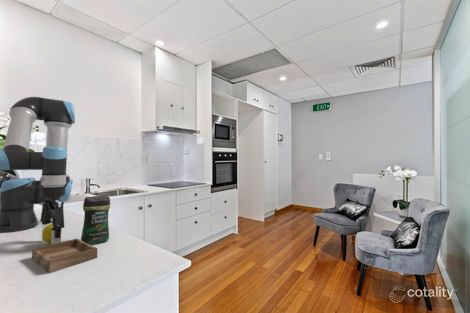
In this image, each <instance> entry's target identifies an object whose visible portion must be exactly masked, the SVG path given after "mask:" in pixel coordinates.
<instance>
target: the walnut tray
mask: <svg viewBox="0 0 470 313" xmlns="http://www.w3.org/2000/svg"><path fill="white" fill-rule="evenodd" d="M96 259H98V247H95V246H94V245H93V244H92V245H89V244H87V243H85V242H83V241H81V239H79V238H73V239H68V240H65V241H64V240H63V241H61V242H60V243H56V244H52V245H51V244H49V245H44V246H40V247H35V248H32V250H31V260H33V261H34V262H35V263H37V265H38V266H41V268H42V269H44V270H45V271H46V272H48V273H49V274H51V273H54V272H57V271H62V270H63V269H66V268H69V267H73V266H76V265H79V264H81V263H82V264H83V263H85V262H88V261H91V260H96Z"/></svg>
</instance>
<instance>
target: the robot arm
mask: <svg viewBox="0 0 470 313" xmlns="http://www.w3.org/2000/svg"><path fill="white" fill-rule="evenodd" d="M8 113H9V114H8V115H9V117H10V120H9V124H8V129H7V131H6V132H7V133H6V135H5V139H4V143H3V147H2V149H0V171H21V170H22V171H23V170H24V171H28V170H29V171H41V177H40V178H39V180H36V177H25V178H16V179H9V180H5V181H3V182H2V183H1V186H0V233H11V232H19V231H24V230H29V229H32V228H35V227H37V226H38V223H39V222H40V223H41V224H42V228H41V229H42V230H41V234H42V233H43V230H44V228H45V227H46V226H48V225H50V224H51V223H53V228H52V229H51V231H52V240H51V244H50V245H52V244H56V243H60V242H62V229H63V228H65V218H64V217H65V213H64V204H65V202H68V201H70V197H71V194H72V189H73V183H74V180H73V179H71V177H70V175H69V174H67V164H68V163H67V160H68V137H69V129H71V128H72V127H73V126H72V125H75V123H76V117H75V116H76V115H75V107H74V105H73V103H72V102H71V101H65V100H59V99H55V98H54V99H53V98H46V97H40V96H29V97H25V98H22V99H20V100H18V101H17V102H15V103H13V105H12V106H11V107H10V110H9V112H8ZM36 120H37V121H43V125H44V126H45V127H46V129H47V130H46V146H44V147H43V148H42V151H29V148H30V145H31V144H30V143H31V136H32V132H33V124H34V123H35V122H36ZM35 205H42V206H41V213H40V214H41V216H40V221H39V220H38V217H37V215H36V213H35V210H34V208H35ZM38 221H39V222H38ZM41 242H42V243H43V242H45V241H44V240H43V238H42V237H41Z"/></svg>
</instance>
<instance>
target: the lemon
mask: <svg viewBox="0 0 470 313" xmlns="http://www.w3.org/2000/svg"><path fill="white" fill-rule="evenodd" d="M49 224H50V225H48V226H46V227H45V228H44V230H43V233H42V232H41V239H42V238H43V240H44V242H45V243H47V244H49V245H51V240H52V231H51V229H52V228H53V223H49Z"/></svg>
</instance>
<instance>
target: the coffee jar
mask: <svg viewBox="0 0 470 313" xmlns="http://www.w3.org/2000/svg"><path fill="white" fill-rule="evenodd" d="M82 209H83V212H84V217H83V219H84V220H83V226H82V231H81V238H80V240H81V241H83V242H85V243H87V244H89V245H92V246H93V245H97V244H103V243H106V242H107V241H109V239H110V230H109V210H110V209H111V198H110V197H109V196H108V195H93V196H86V197H84V200H83V204H82Z"/></svg>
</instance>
